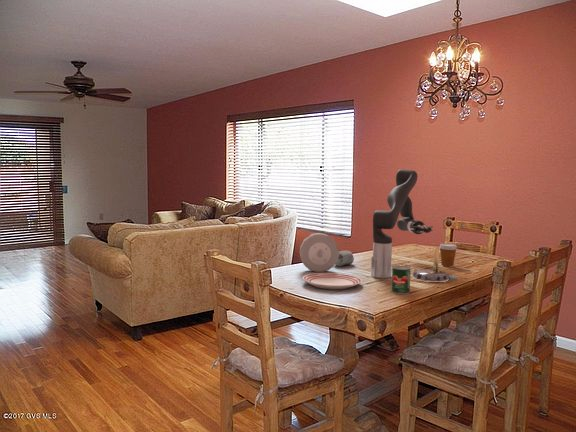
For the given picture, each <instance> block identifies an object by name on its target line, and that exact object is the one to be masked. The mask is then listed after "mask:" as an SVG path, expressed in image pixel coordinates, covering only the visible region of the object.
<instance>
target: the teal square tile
mask: <svg viewBox="0 0 576 432" xmlns="http://www.w3.org/2000/svg"><path fill="white" fill-rule="evenodd" d="M449 278H450V279H449ZM449 278H448V279H449V280H457V276H455V275H449Z"/></svg>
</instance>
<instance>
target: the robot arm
mask: <svg viewBox="0 0 576 432" xmlns="http://www.w3.org/2000/svg"><path fill="white" fill-rule="evenodd" d="M417 182H418V173H417V171H416V170H412V169H404V168H403V169H397V172H396V176H395V183H396V186H394V188H392V189H391V190H390V192H389V194H388V195H387V199H386V200H387V205H388V207H389V208H390V209H389V210H385V209H384V210H381V209H380V210H379V209H378V210H375V211H374V212H373V215H372V237H373V238H372V240H373V241H372V244H373V245H372V256H371V266H370V267H371V268H370V269H371V271H370V276H372V277H373V278H378V279H389V278H392V254H393V253H392V252H393V251H392V250H393V238H392V237H391V235H389V234H386V233H385V232H384V231H383V230H392V229H394V227H395V226H396V225H397V228H398V229H399V230H400V231H403V232H404V231H409V232H411V233H412V234H415V235H422V234H423V233H425V234H426V233H428V234H429V233H430V232H433V225H431V226H427V225H426V224H425V223H424V222H423V221H421V220H417V219H415V217H414V214H413V202H412V200H411V198H410V196H409V195H410V193H411V191H412V190H413V188H414V187H415V186H416V183H417ZM399 215H400V216H401V218H399Z"/></svg>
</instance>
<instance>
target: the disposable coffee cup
mask: <svg viewBox="0 0 576 432" xmlns="http://www.w3.org/2000/svg"><path fill="white" fill-rule="evenodd" d="M438 247H439V255H440V263H441V265H443V266H442V267H444V266H453V267H454V265H455V264H454V263H455V259H456V258H455V257H456V251H457V249H458V247H457V244H453V243H440V244H439V246H438Z"/></svg>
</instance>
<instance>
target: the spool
mask: <svg viewBox="0 0 576 432" xmlns="http://www.w3.org/2000/svg"><path fill="white" fill-rule="evenodd" d="M354 260H355V257H354V254H353V252H352V251H350V250H340V251H339V256H338V260H337V262H336V264H335V265H334V266H336V267H338V268H339V267H343V266H348V265H351V264H353V263H354Z"/></svg>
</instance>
